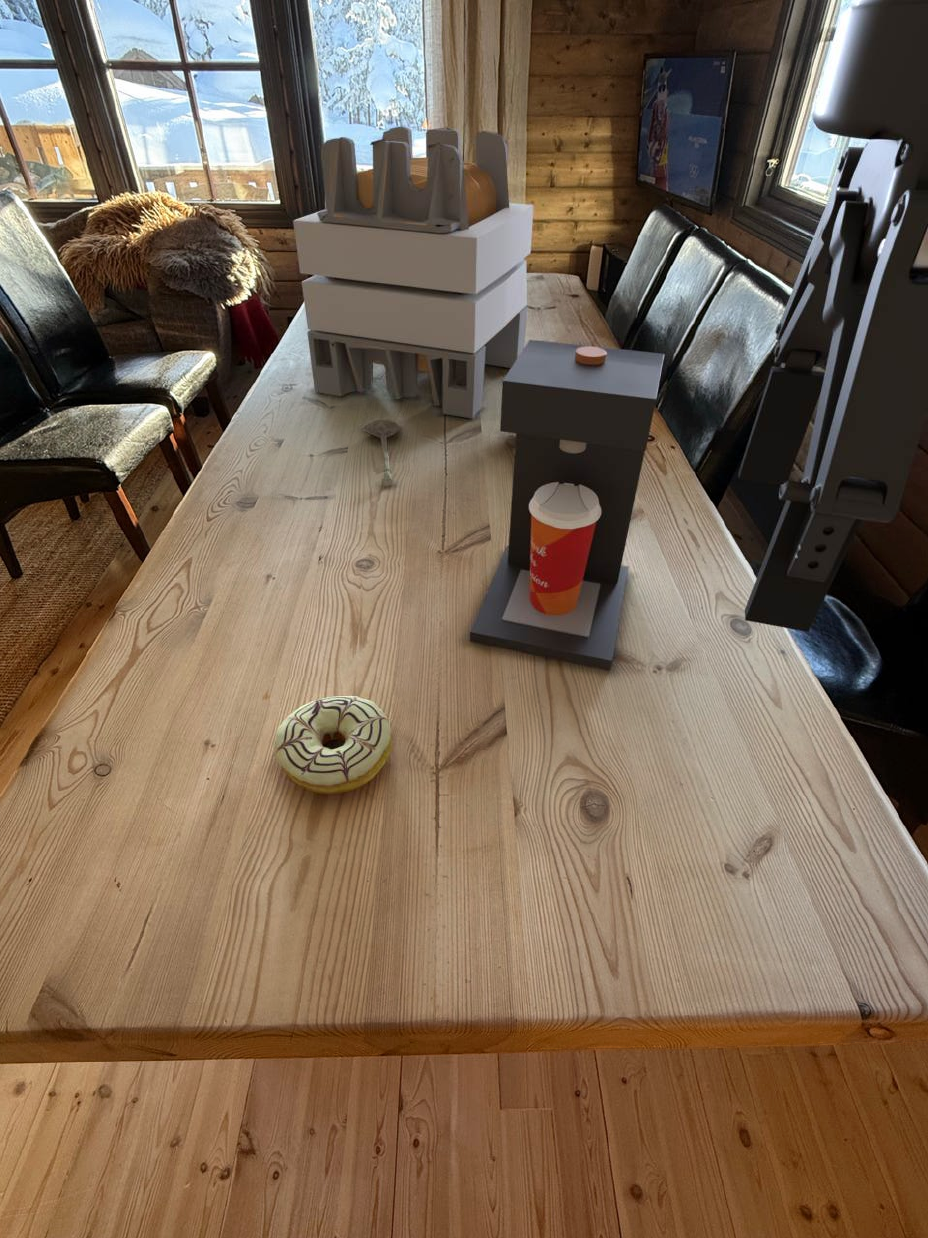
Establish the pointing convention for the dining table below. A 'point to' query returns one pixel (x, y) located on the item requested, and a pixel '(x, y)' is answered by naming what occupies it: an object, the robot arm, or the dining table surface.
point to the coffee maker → (577, 454)
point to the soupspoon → (383, 441)
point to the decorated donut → (329, 721)
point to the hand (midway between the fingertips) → (767, 540)
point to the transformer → (415, 268)
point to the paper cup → (560, 544)
